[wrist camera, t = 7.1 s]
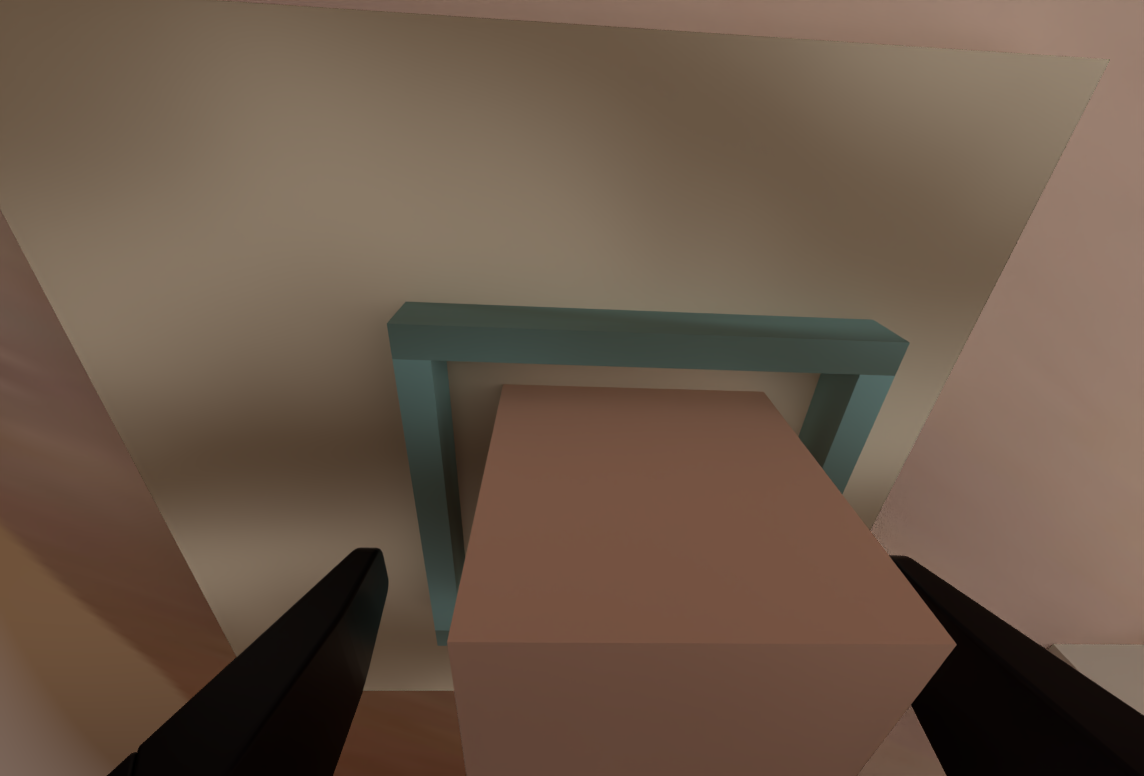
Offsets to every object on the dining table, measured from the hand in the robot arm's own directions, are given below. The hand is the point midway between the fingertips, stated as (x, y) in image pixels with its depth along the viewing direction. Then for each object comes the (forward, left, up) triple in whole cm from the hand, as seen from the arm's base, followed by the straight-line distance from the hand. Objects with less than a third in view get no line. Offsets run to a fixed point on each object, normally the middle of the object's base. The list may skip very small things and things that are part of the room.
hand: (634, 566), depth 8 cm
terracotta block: (0, 0, -2) cm, 2 cm away
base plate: (0, +2, -3) cm, 4 cm away
